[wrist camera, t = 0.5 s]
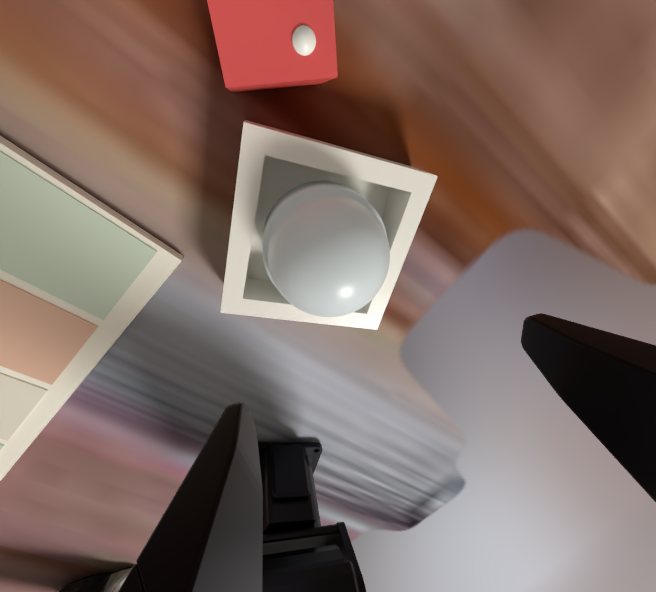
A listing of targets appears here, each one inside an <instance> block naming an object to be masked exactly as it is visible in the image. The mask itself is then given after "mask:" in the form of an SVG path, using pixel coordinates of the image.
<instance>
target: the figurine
mask: <svg viewBox="0 0 656 592" xmlns="http://www.w3.org/2000/svg"><path fill="white" fill-rule="evenodd" d="M131 569H132V568H128V569H125V570H121V571H119V572H115V573H109V574H101V575H95V576H90V577H87V578H85V579H82V580H80V581H77V582H75V583H72V584H70V585H68V586H66V587H64V588H63V589H62V590H61V591H60V592H118V591H119V589H120V587H121V586H122V584H123V582H124V581H125V579H126V577H127V576H128V574H129V572H130V570H131Z"/></svg>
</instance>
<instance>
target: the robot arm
mask: <svg viewBox="0 0 656 592" xmlns="http://www.w3.org/2000/svg"><path fill="white" fill-rule="evenodd" d="M521 343H522V347H523V349H524V350H525V351H526V353H527V354H528V355H529V357H530V358H531V360H532V361H533V362H534V364H535V365H536V366H537V368H538V369H539V370H540V371H541V373H542V374H543V375H544V377H545V378H546V380H547V381H548V382H549V383H550V385H551V386H552V387H553V389H554V390H555V391H556V393H557V394H558V395H559V396H560V397H561V398H562V400H563V401H564V402H565V403H566V404H567V405H568V406H569V408H570V409H571V410H572V411H573V412H574V413H575V414H576V415H577V416H578V418H579V419H580V420H581V421H582V422H583V423H584V424H585V425H586V426H587V427H588V429H589V430H590V431H591V432H592V433H593V434H594V435H595V436H596V437H597V438H598V439H599V441H600V442H601V443H602V444H603V445H604V446H605V447H606V448H607V449H608V450H609V452H610V453H611V454H612V455H613V456H614V457H615V458H616V459H617V460H618V461H619V463H620V464H621V465H622V466H623V467H624V468H625V469H626V470H627V471H628V472H629V474H630V475H631V476H632V477H633V478H634V479H635V480H636V481H637V482H638V483H639V485H640V486H641V487H642V488H643V489H644V490H645V491H646V492H647V493H648V494H649V496H650V497H651V498H652V499H653V500H654V501H655V502H656V346H655V345H652V344H648V343H645V342H642V341H638V340H634V339H631V338H627V337H624V336H620V335H617V334H613V333H610V332H606V331H603V330H599V329H595V328H592V327H588V326H585V325H581V324H578V323H574V322H571V321H567V320H564V319H560V318H557V317H553V316H549V315H546V314H536V315H533V316H529V317H527V318H526V319H525V320H524V324H523V330H522V337H521ZM321 452H322V445H321V444H320V443H258V440H257V431H256V426H255V422H254V420H253V418H252V416H251V414H250V412H249V410H248V408H247V406H246V404H245V403H244V402H239V403H235V404H232V405H229V406H228V407H227V408H226V409H225V410H224V412H223V414H222V416H221V417H220V419H219V421H218V422H217V424H216V426H215V428H214V429H213V431H212V433H211V434H210V436H209V438H208V439H207V441H206V443H205V445H204V446H203V448H202V450H201V451H200V453H199V455H198V456H197V458H196V460H195V462H194V463H193V465H192V467H191V468H190V470H189V472H188V474H187V475H186V477H185V479H184V480H183V482H182V484H181V485H180V487H179V489H178V491H177V492H176V494H175V496H174V497H173V499H172V501H171V503H170V504H169V506H168V508H167V509H166V511H165V513H164V514H163V516H162V518H161V520H160V521H159V523H158V525H157V526H156V528H155V530H154V532H153V533H152V535H151V537H150V538H149V540H148V542H147V543H146V545H145V547H144V549H143V550H142V552H141V554H140V555H139V557H138V559H137V564H135V565H134V566H133V567H132V569H131V570H130V572H129V574H128V576H127V577H126V579H125V581H124V582H123V584H122V586H121V587H120V589H119V591H118V592H366V589H365V584H364V581H363V577H362V574H361V571H360V568H359V565H358V562H357V559H356V556H355V553H354V550H353V547H352V544H351V541H350V538H349V535H348V532H347V529H346V526H345V524H344V522H339V523H337V524H335V525H327V526H321V524H320V517H319V511H318V504H317V498H316V491H315V485H314V478H313V473H314V471H315V468H316V465H317V463H318V460H319V458H320V455H321Z"/></svg>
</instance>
